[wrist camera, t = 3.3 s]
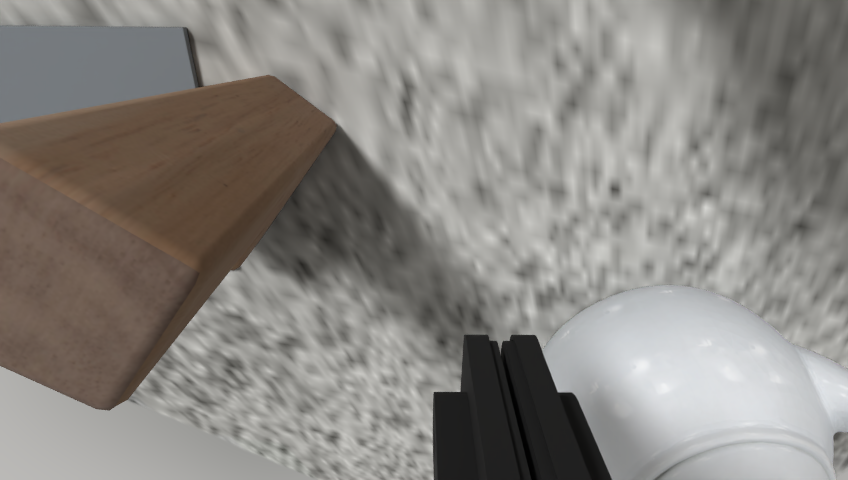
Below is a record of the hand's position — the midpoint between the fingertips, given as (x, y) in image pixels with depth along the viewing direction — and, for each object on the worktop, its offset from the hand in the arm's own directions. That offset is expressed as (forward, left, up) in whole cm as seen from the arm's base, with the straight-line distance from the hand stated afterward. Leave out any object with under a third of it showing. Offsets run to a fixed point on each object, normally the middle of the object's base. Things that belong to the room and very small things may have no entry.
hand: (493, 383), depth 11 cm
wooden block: (+11, -1, -17) cm, 20 cm away
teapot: (-14, +15, -17) cm, 27 cm away
